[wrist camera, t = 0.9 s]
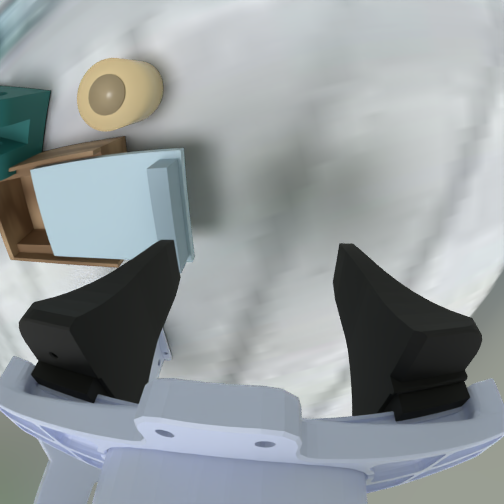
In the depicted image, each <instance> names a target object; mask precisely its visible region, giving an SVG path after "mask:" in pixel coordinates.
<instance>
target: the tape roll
mask: <svg viewBox="0 0 504 504" xmlns="http://www.w3.org/2000/svg"><path fill="white" fill-rule="evenodd" d="M162 96H163V81H162V78H161V75H160V73H159V72H158V70H157V69H156V68H155V67H154V66H152V65H151V64H149V63H147V62H144V61H136V60H128V59H119V58H108V59H104V60H101V61H99V62H97V63H96V64H94V65H93V66H92V67H91V68H90V69H89V70H88V71H87V72H86V73H85V75H84V76H83V78H82V80H81V82H80V85H79V88H78V93H77V104H78V109H79V112H80V115H81V117H82V118H83V120H84V121H85V122H86V123H87V124H88V125H89V126H90V127H92V128H93V129H96V130H99V131H112V130H116V129H118V128H121V127H124V126H127V125H130V124H133V123H136V122H139V121H142V120H144V119H146V118H148V117H149V116H150V115H152V114H153V113H154V111H155V110H156V109H157V108H158V106H159V104H160V102H161V99H162Z"/></svg>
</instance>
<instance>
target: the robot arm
mask: <svg viewBox="0 0 504 504" xmlns="http://www.w3.org/2000/svg"><path fill="white" fill-rule="evenodd" d="M179 281H180V272H179V266H178V261H177V255H176V249H175V243H174V240H160V241H158V242H156V243H154V244H153V245H151V246H150V247H149V248H147V249H146V250H144V251H143V252H141V253H140V254H138V255H137V256H136V257H134V258H133V259H131V260H130V261H128V262H127V263H125V264H124V265H122V266H121V267H119V268H117V269H116V270H114V271H113V272H111V273H109V274H108V275H106V276H104V277H102V278H100V279H98V280H96V281H94V282H92V283H90V284H88V285H85V286H83V287H81V288H79V289H76V290H74V291H71V292H68V293H65V294H62V295H59V296H56V297H53V298H49V299H45V300H41V301H37V302H34V303H33V304H32V305H31V306H30V308H29V309H28V310H27V312H26V313H25V314H24V316H23V317H22V318H21V320H20V321H19V329H20V332H21V335H22V337H23V339H24V340H25V342H26V343H27V345H28V346H29V348H30V349H31V351H32V352H33V354H34V355H35V356H36V358H37V359H38V360H39V361H38V363H37V364H36V366H34V365H33V364H32V363H31V362H29V361H26V360H24V359H21V358H19V357H16V356H13V357H12V359H11V361H10V362H9V364H8V366H7V367H6V369H5V371H4V372H3V374H2V376H1V377H0V410H1V411H2V412H3V413H4V414H5V415H6V416H7V417H8V418H9V419H10V420H11V421H13V422H14V423H15V424H16V425H17V426H18V427H20V428H21V429H22V430H23V431H25V432H27V433H29V434H30V435H32V436H34V437H36V438H37V439H38V441H39V443H40V444H41V446H42V448H43V449H44V451H45V453H46V454H47V456H48V458H49V461H48V463H47V466H46V469H45V471H44V474H43V477H42V480H41V483H40V485H39V488H38V491H37V494H36V498H35V501H34V504H87V502H88V499H89V496H90V493H91V491H92V488H93V485H94V483H96V482H98V484H97V487H96V491H95V494H94V498H93V502H92V504H367V493H370V492H375V491H379V490H383V489H387V488H391V487H395V486H398V485H401V484H405V483H408V482H411V481H414V480H417V479H420V478H423V477H426V476H429V475H432V474H434V473H437V472H440V471H442V470H445V469H448V468H451V467H453V466H455V465H458V464H460V463H463V462H465V461H468V460H470V459H472V458H474V457H476V456H478V455H479V454H480V453H482V452H483V451H485V450H486V449H488V448H489V447H490V446H492V445H493V444H494V443H496V442H497V441H498V440H499V439H501V438H502V437H504V403H503V401H502V398H501V396H500V393H499V391H498V389H497V386H496V384H495V382H494V380H493V378H490V379H487V380H484V381H480V382H477V383H474V384H472V385H470V386H469V387H466V385H465V382H464V381H465V380H466V379H467V374H466V372H465V369H466V367H467V366H468V365H469V363H470V362H471V361H472V359H473V358H474V356H475V355H476V354H477V352H478V350H479V348H480V345H481V342H482V335H481V333H480V331H479V329H478V327H477V326H476V324H475V322H474V320H473V319H472V318H470V317H467V316H465V315H462V314H459V313H456V312H453V311H450V310H448V309H446V308H444V307H441V306H439V305H437V304H435V303H433V302H431V301H429V300H427V299H425V298H423V297H422V296H420V295H418V294H416V293H415V292H413V291H411V290H410V289H408V288H407V287H405V286H404V285H402V284H401V283H400V282H398V281H397V280H395V279H394V278H393V277H392V276H390V275H389V274H388V273H386V272H385V271H384V270H383V269H382V268H380V267H379V266H378V265H377V264H376V263H375V262H374V261H372V260H371V259H370V258H369V257H368V256H367V255H366V254H365V253H363V252H362V251H361V250H360V249H359V248H358V247H356V246H355V245H354V244H343V243H339V250H338V256H337V262H336V267H335V273H334V278H333V286H334V294H335V301H336V305H337V308H338V312H339V316H340V319H341V323H342V327H343V331H344V334H345V338H346V343H347V348H348V355H349V364H350V374H351V387H352V416H350V417H338V418H321V419H307V418H302V412H301V404H300V401H299V398H298V397H296V396H295V395H293V394H291V393H289V392H287V391H285V390H284V389H280V388H274V387H267V386H254V385H235V384H222V383H210V382H200V381H191V380H182V379H175V378H160V379H158V377H159V373H160V370H161V367H162V364H163V361H164V360H171V359H172V355H171V352H170V349H169V346H168V343H167V340H166V336H165V333H164V330H163V326H164V323H165V321H166V318H167V316H168V313H169V311H170V309H171V306H172V304H173V301H174V299H175V296H176V293H177V289H178V285H179Z"/></svg>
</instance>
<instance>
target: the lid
mask: <svg viewBox="0 0 504 504" xmlns="http://www.w3.org/2000/svg"><path fill="white" fill-rule="evenodd" d="M30 172H31V177H32V181H33V186H34V190H35V194H36V198H37V202H38V205H39V209H40V213H41V216H42V220H43V223H44V226H45V229H46V233H47V236H48V239H49V242H50V245H51V247H52V250H53V253H54V256H66V257H85V258H106V259H127V260H131V259H133V258H134V257H136V256H137V255H138V254H140V253H141V252H143V251H144V250H146V249H147V248H149V247H150V246H151V245H153V244H154V243H156V242H158V241H160V240H174V243H175V249H176V255H177V261H178V266H179V272H180V273H182V271H183V268H184V266H185V264H186V262H193V260H194V257H195V255H194V247H193V239H192V230H191V222H190V212H189V203H188V192H187V182H186V170H185V158H184V148H171V149H158V150H146V151H136V152H126V153H118V154H110V155H102V156H95V157H88V158H82V159H76V160H70V161H64V162H59V163H53V164H48V165H43V166H39V167H35V168H33V169H31V170H30Z"/></svg>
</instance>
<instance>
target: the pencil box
mask: <svg viewBox="0 0 504 504" xmlns="http://www.w3.org/2000/svg"><path fill="white" fill-rule="evenodd" d="M126 152H127V149H126V140H125V136H123V137H116V138H109V139H103V140H97V141H91V142H86V143H80V144H75V145H70V146H66V147H61V148H56V149H52V150H48V151H44V152H41V153H39V154H37V155H35V156H33V157H31V158H28V159H26V160H24V161H22V162H20V163H18V164H16V165H15V166H13V167H11V168H9V172H11V171H15V170H16V174H14V175H12V176H10V177H8V178H6V179H4V180H1V181H0V233H1V236H2V239H3V241H4V244H5V247H6V249H7V252H8V254H9V257H10V259H11V260H20V261H32V262H45V263H58V264H72V265H87V266H102V267H119V266H120V265H121V263H122V262H123V260H124V259H106V258H85V257H66V256H54V253H53V250H52V247H51V245H50V242H49V239H48V236H47V233H46V229H45V226H44V223H43V220H42V216H41V213H40V209H39V205H38V202H37V198H36V194H35V190H34V186H33V181H32V177H31V172H30V170H31V169H33V168H35V167H39V166H43V165H48V164H53V163H59V162H64V161H70V160H76V159H82V158H88V157H95V156H102V155H110V154H118V153H126Z"/></svg>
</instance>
